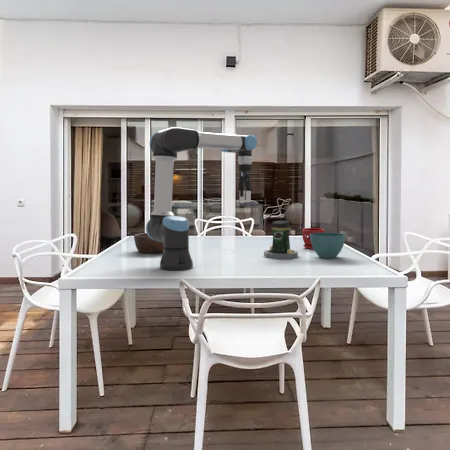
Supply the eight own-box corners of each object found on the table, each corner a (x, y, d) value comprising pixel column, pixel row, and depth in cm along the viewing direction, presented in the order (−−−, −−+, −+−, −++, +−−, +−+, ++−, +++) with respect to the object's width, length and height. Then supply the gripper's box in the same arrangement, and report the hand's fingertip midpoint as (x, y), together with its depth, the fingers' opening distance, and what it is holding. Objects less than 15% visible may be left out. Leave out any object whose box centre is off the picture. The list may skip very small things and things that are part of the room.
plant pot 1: (297, 247, 247) (298, 228, 246) (314, 246, 253) (314, 227, 252) (311, 250, 236) (312, 230, 235) (328, 248, 242) (329, 229, 241)
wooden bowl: (130, 250, 243) (129, 233, 242) (170, 247, 253) (169, 231, 252) (139, 256, 220) (139, 237, 219) (183, 253, 230) (182, 235, 230)
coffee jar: (292, 254, 216) (292, 220, 215) (286, 256, 209) (286, 221, 208) (276, 253, 221) (276, 219, 220) (269, 255, 215) (269, 220, 213)
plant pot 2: (305, 258, 207) (305, 235, 206) (314, 253, 223) (315, 231, 222) (341, 261, 199) (341, 236, 198) (348, 255, 215) (348, 233, 214)
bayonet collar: (295, 259, 204) (295, 250, 204) (261, 258, 210) (261, 249, 209) (299, 254, 221) (299, 246, 221) (268, 253, 226) (268, 245, 226)
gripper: (246, 162, 209) (246, 203, 211) (256, 165, 233) (256, 201, 235) (232, 162, 212) (232, 203, 213) (244, 165, 235) (244, 201, 237)
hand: (245, 202), depth 224 cm, fingers open, 13 cm apart
